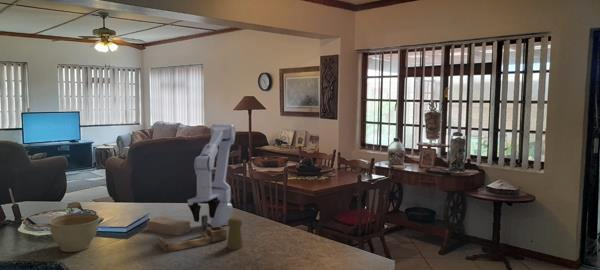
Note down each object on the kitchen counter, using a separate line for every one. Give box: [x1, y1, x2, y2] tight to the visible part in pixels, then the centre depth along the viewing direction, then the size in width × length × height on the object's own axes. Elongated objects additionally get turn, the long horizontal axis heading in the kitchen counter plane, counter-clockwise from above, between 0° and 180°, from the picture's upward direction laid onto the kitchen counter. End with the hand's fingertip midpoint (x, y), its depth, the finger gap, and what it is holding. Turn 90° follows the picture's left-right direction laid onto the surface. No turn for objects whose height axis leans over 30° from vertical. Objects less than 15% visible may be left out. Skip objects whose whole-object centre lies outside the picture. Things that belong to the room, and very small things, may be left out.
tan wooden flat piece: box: [157, 232, 212, 253], centre depth 163 cm, size 17×11×2 cm, turn 123°
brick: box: [146, 215, 191, 237], centre depth 179 cm, size 17×8×5 cm, turn 67°
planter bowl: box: [48, 212, 100, 253], centre depth 157 cm, size 16×16×11 cm
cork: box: [226, 216, 244, 250], centre depth 160 cm, size 6×6×11 cm
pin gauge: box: [200, 214, 209, 234], centre depth 173 cm, size 2×2×8 cm
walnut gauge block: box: [206, 226, 227, 243], centre depth 169 cm, size 6×6×4 cm
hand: (204, 219), depth 172 cm, fingers open, 7 cm apart
